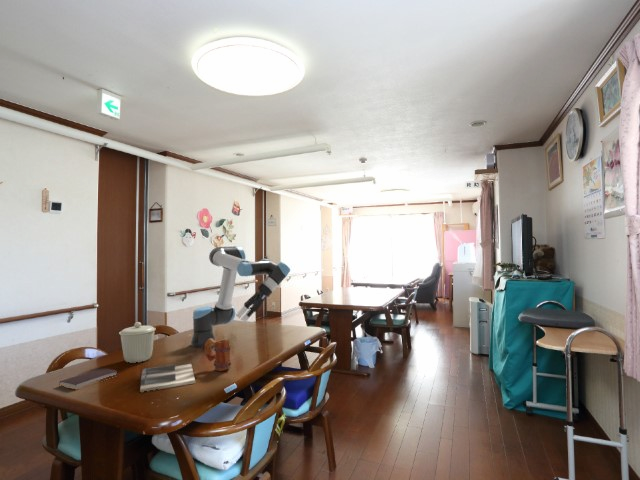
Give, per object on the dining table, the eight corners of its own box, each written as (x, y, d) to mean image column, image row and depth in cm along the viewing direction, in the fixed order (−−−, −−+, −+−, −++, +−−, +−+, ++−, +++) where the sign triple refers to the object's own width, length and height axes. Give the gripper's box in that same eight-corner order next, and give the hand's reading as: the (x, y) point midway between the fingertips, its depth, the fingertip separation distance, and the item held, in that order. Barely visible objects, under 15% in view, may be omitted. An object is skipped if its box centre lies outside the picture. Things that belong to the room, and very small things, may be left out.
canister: (143, 353, 205) (143, 317, 206) (163, 357, 196) (162, 320, 197) (112, 362, 190) (111, 324, 190) (132, 367, 181) (131, 326, 181)
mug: (235, 367, 175) (234, 337, 176) (226, 373, 168) (225, 341, 168) (211, 365, 180) (210, 336, 180) (200, 370, 172) (200, 340, 173)
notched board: (143, 373, 171) (143, 365, 171) (191, 366, 180) (191, 358, 180) (140, 392, 147) (140, 383, 147) (195, 383, 156) (194, 374, 156)
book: (59, 387, 157) (59, 380, 158) (101, 373, 175) (101, 366, 175) (75, 391, 152) (75, 384, 152) (117, 376, 169) (117, 369, 169)
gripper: (279, 293, 175) (250, 327, 168) (266, 289, 198) (240, 319, 191) (268, 284, 173) (239, 318, 166) (256, 281, 196) (230, 310, 189)
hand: (240, 318), depth 179 cm, fingers open, 13 cm apart
